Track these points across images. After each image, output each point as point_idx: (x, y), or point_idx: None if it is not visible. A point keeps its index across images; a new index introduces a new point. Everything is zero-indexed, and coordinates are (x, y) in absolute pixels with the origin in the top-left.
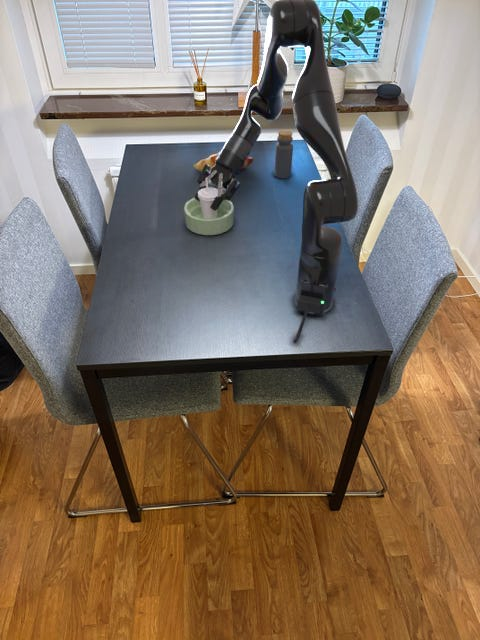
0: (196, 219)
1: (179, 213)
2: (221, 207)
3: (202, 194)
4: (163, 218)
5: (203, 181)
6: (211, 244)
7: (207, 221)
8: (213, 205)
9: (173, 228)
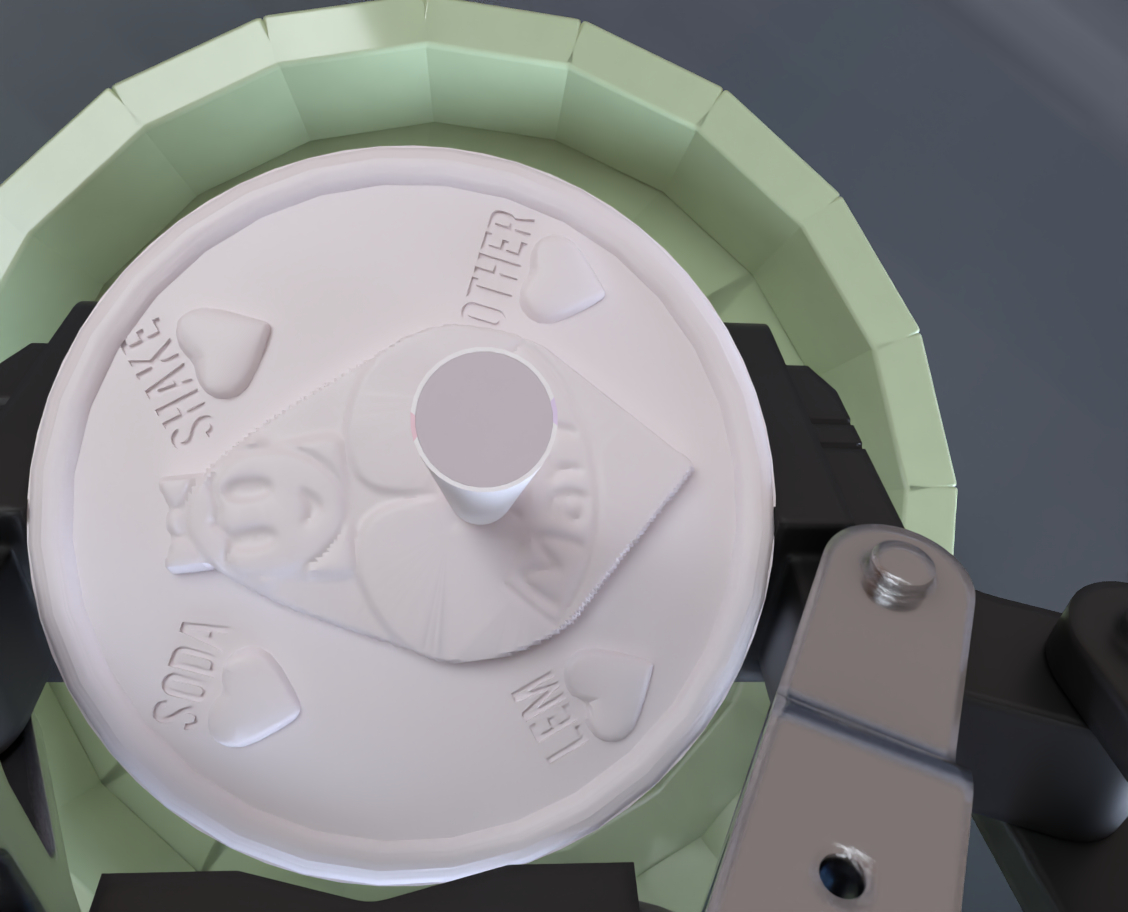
0: (270, 17)
1: (967, 373)
2: None
3: (479, 277)
4: (1005, 128)
5: (958, 695)
6: (5, 161)
7: (67, 136)
8: (58, 351)
9: (710, 59)
